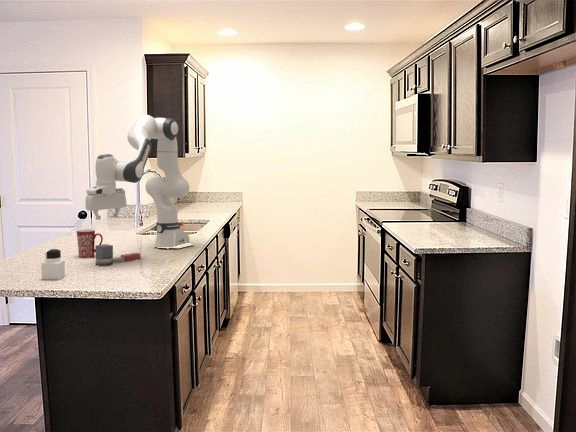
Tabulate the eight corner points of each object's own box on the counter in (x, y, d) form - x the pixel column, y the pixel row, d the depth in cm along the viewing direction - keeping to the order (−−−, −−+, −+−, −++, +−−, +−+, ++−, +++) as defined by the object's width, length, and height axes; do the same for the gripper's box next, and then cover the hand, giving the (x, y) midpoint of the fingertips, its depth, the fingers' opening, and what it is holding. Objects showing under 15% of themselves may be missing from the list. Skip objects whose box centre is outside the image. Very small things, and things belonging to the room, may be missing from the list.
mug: (74, 258, 276) (73, 231, 274) (80, 254, 285) (79, 228, 283) (100, 258, 276) (99, 231, 275) (105, 255, 285) (104, 229, 284)
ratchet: (133, 257, 281) (133, 242, 280) (143, 259, 276) (143, 244, 275) (92, 264, 263) (92, 248, 262) (102, 266, 258) (101, 250, 257)
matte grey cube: (105, 256, 267) (105, 244, 266) (113, 258, 264) (112, 245, 263) (95, 258, 263) (95, 245, 262) (102, 259, 259) (102, 247, 258)
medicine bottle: (65, 276, 239) (64, 248, 237) (58, 279, 231) (58, 251, 230) (48, 275, 238) (47, 248, 237) (41, 279, 231) (40, 251, 230)
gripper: (120, 187, 272) (121, 215, 274) (82, 190, 256) (84, 220, 258) (128, 188, 268) (129, 216, 270) (90, 191, 252) (92, 221, 254)
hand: (107, 218), depth 264 cm, fingers open, 8 cm apart
